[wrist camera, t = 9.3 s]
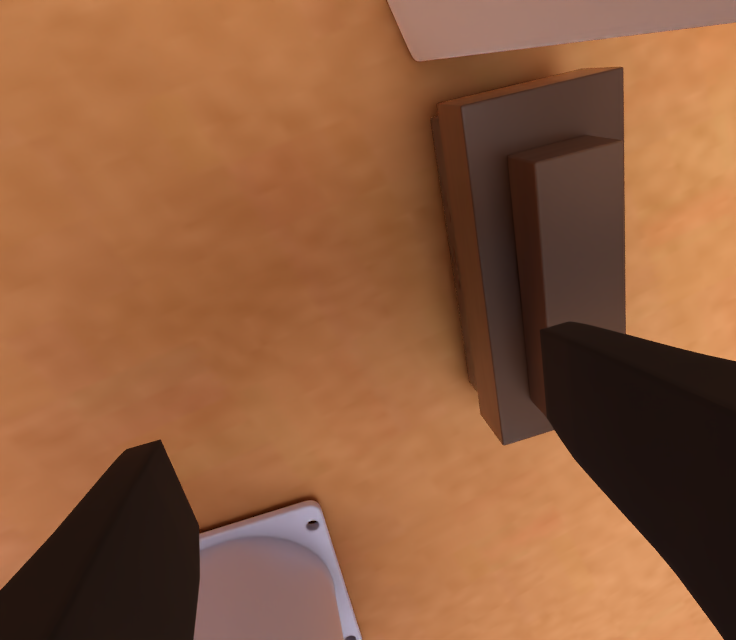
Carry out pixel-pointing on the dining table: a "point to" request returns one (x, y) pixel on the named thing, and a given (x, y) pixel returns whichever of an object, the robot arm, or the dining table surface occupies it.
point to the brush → (532, 228)
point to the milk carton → (541, 22)
